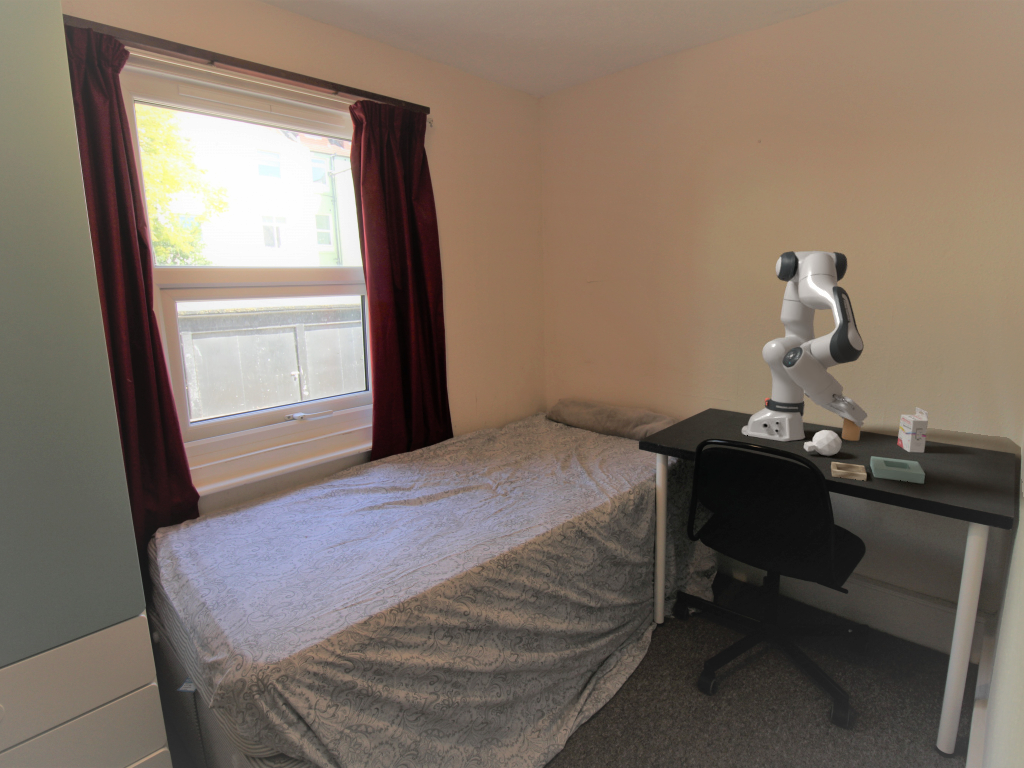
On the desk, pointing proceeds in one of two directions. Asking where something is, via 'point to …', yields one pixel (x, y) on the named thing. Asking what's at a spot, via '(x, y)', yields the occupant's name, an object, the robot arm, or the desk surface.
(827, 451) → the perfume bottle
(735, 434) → the desk surface
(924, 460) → the desk surface
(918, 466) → the socket block
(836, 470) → the square wooden frame
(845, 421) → the plug
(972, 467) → the desk surface
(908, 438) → the ink cartridge box
